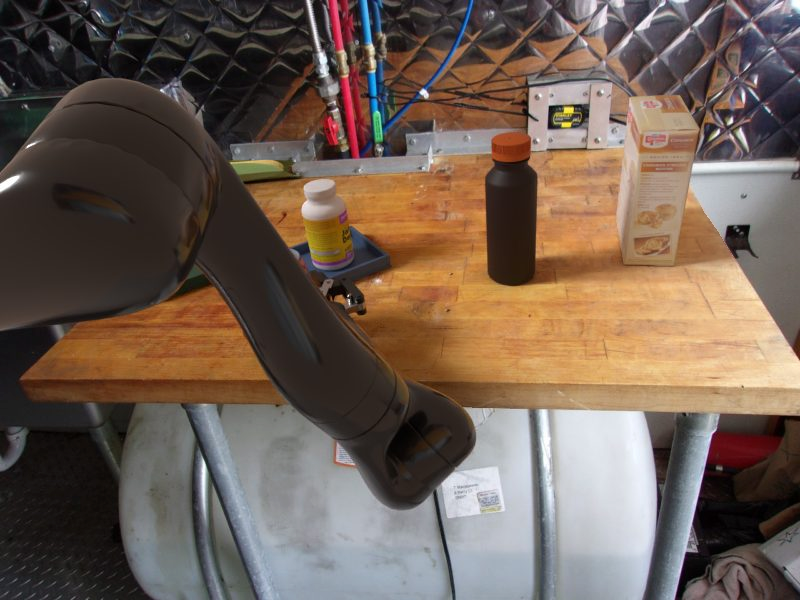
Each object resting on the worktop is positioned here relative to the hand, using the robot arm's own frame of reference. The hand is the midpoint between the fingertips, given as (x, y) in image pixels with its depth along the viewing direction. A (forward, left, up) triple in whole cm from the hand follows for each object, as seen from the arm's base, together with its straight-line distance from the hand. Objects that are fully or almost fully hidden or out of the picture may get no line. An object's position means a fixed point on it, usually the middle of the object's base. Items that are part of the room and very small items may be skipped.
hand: (282, 287), depth 75 cm
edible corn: (+14, +57, -7) cm, 59 cm away
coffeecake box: (+52, -13, -7) cm, 54 cm away
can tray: (-6, +28, -7) cm, 29 cm away
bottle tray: (+12, +13, -7) cm, 19 cm away
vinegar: (+31, -7, -7) cm, 33 cm away
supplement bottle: (+12, +13, -7) cm, 19 cm away
